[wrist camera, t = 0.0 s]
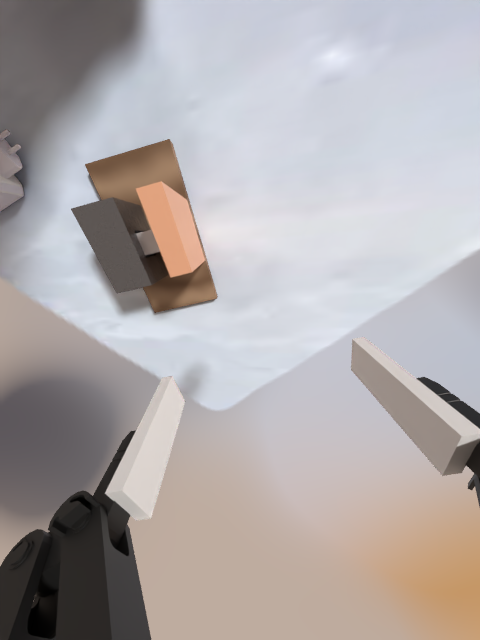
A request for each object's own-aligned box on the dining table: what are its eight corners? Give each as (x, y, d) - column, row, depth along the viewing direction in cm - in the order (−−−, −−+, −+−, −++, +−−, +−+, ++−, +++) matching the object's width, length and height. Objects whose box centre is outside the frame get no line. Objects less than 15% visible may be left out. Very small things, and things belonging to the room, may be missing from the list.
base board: (91, 167, 30) (84, 164, 28) (172, 143, 29) (169, 139, 27) (157, 310, 41) (154, 312, 39) (217, 296, 40) (216, 298, 38)
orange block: (137, 213, 31) (85, 202, 20) (187, 200, 31) (161, 181, 20) (161, 271, 35) (128, 287, 25) (205, 260, 35) (192, 272, 24)
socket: (108, 214, 31) (70, 208, 24) (140, 205, 31) (112, 197, 24) (140, 281, 36) (116, 293, 29) (168, 274, 36) (151, 285, 29)
